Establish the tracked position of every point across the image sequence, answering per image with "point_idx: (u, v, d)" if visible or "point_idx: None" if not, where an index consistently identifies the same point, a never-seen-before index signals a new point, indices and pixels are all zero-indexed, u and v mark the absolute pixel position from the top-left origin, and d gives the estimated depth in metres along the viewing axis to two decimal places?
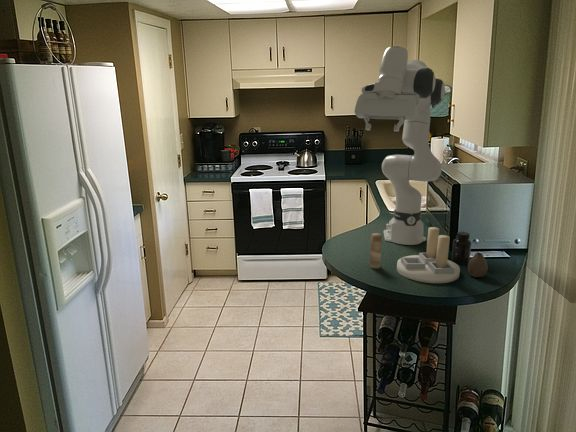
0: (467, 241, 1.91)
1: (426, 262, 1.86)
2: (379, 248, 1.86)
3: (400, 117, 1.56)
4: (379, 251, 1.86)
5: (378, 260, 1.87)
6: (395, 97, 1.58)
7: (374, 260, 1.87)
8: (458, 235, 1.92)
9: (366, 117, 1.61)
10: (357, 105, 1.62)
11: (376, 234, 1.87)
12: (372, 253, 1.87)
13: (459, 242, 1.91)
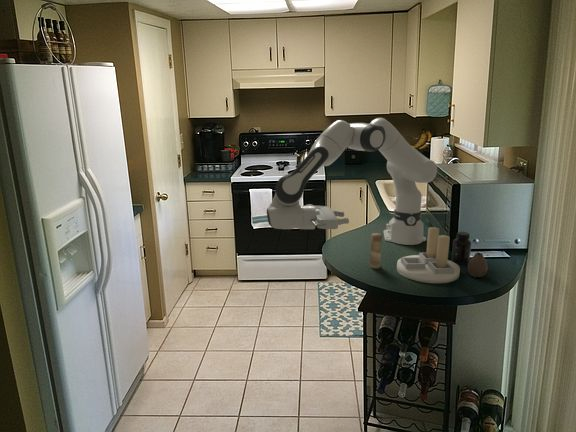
0: (467, 241, 1.91)
1: (426, 262, 1.86)
2: (379, 248, 1.86)
3: None
4: (379, 251, 1.86)
5: (378, 260, 1.87)
6: None
7: (374, 260, 1.87)
8: (458, 235, 1.92)
9: None
10: None
11: (376, 234, 1.87)
12: (372, 253, 1.87)
13: (459, 242, 1.91)
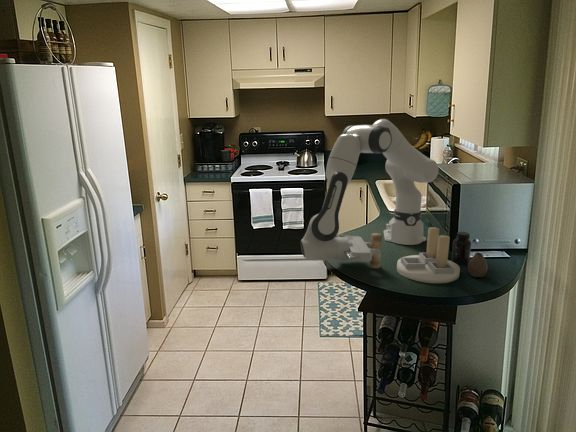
0: (467, 241, 1.91)
1: (426, 262, 1.86)
2: (379, 248, 1.86)
3: None
4: None
5: (378, 260, 1.87)
6: None
7: (374, 260, 1.87)
8: (458, 235, 1.92)
9: None
10: None
11: (376, 234, 1.87)
12: None
13: (459, 242, 1.91)
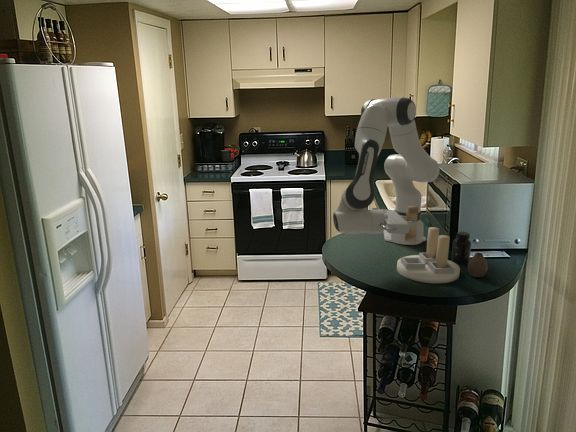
0: (467, 241, 1.91)
1: (426, 262, 1.86)
2: None
3: None
4: None
5: (414, 233, 1.80)
6: None
7: (410, 233, 1.79)
8: (458, 235, 1.92)
9: None
10: None
11: (412, 206, 1.79)
12: None
13: (459, 242, 1.91)
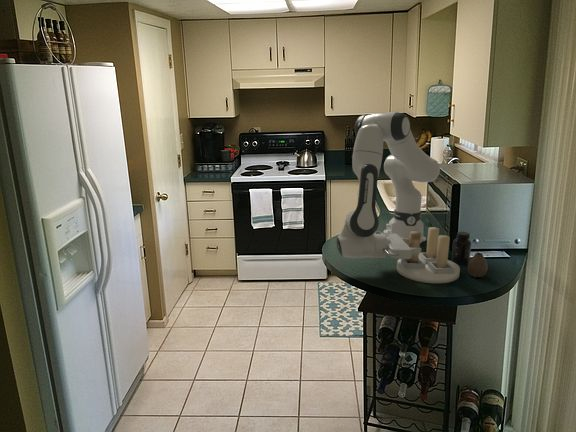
0: (467, 241, 1.91)
1: (426, 262, 1.86)
2: (418, 246, 1.80)
3: None
4: None
5: (416, 259, 1.82)
6: None
7: (412, 258, 1.81)
8: (458, 235, 1.92)
9: None
10: None
11: (415, 232, 1.81)
12: None
13: (459, 242, 1.91)
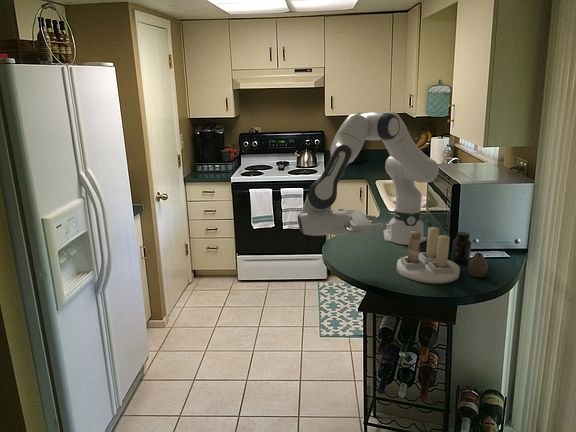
0: (467, 241, 1.91)
1: (426, 262, 1.86)
2: (418, 246, 1.81)
3: None
4: (418, 249, 1.81)
5: (416, 259, 1.82)
6: None
7: (412, 258, 1.81)
8: (458, 235, 1.92)
9: None
10: None
11: (414, 232, 1.81)
12: (410, 252, 1.81)
13: (460, 242, 1.91)
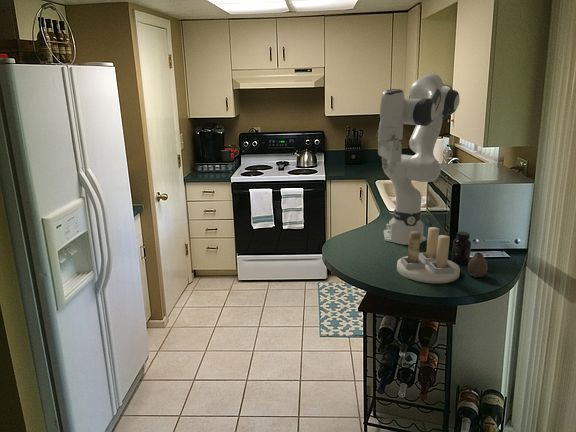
0: (467, 241, 1.91)
1: (426, 262, 1.86)
2: (418, 246, 1.81)
3: (390, 162, 1.78)
4: (418, 249, 1.81)
5: (416, 259, 1.82)
6: (387, 143, 1.78)
7: (412, 258, 1.81)
8: (458, 235, 1.92)
9: (382, 158, 1.89)
10: (378, 148, 1.91)
11: (414, 232, 1.81)
12: (410, 252, 1.81)
13: (460, 242, 1.91)
